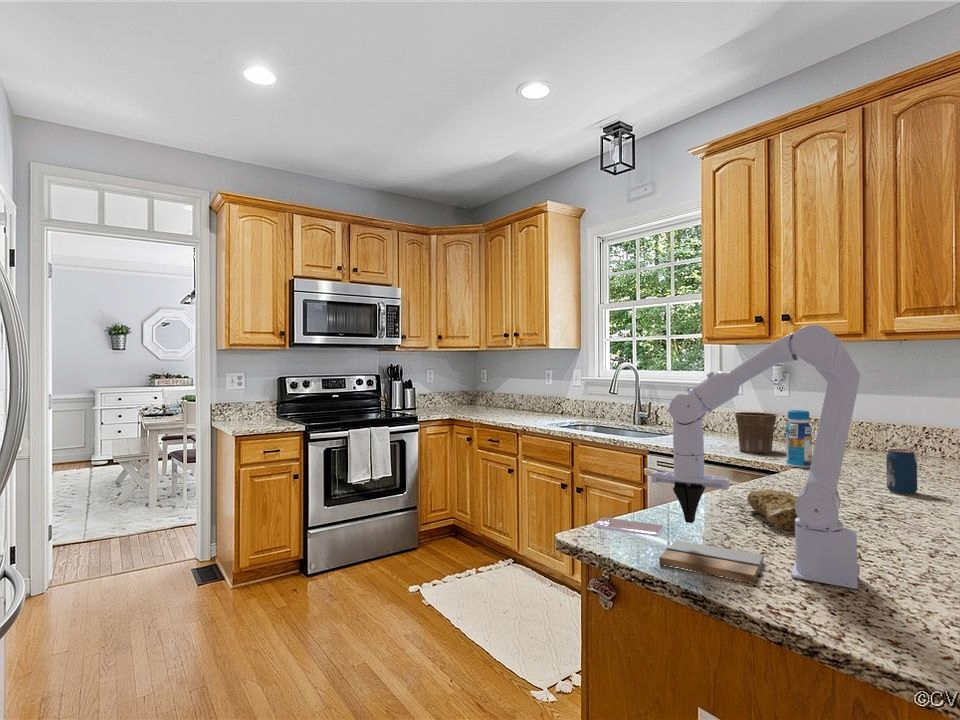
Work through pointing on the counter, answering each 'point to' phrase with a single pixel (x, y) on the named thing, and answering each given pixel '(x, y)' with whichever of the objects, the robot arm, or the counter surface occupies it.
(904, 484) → the soda can
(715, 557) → the walnut board
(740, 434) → the plant pot
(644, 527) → the mobile phone
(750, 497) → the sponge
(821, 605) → the counter surface
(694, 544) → the grey plank
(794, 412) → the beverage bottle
